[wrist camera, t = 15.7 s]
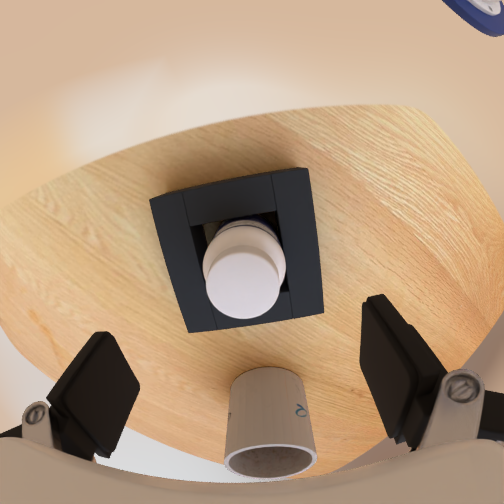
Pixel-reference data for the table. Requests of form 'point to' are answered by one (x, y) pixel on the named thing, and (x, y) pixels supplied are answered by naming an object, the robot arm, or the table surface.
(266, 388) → the mug
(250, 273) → the pill bottle
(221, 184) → the socket pad
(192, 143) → the table surface
